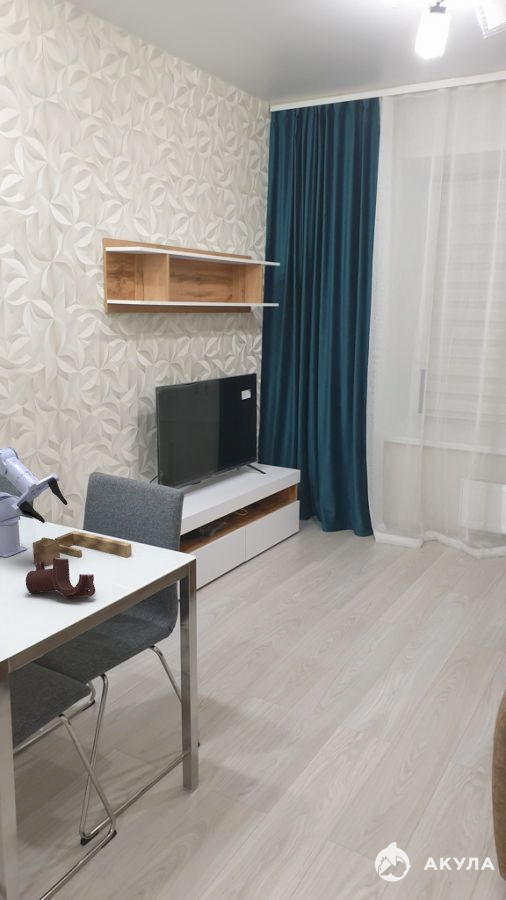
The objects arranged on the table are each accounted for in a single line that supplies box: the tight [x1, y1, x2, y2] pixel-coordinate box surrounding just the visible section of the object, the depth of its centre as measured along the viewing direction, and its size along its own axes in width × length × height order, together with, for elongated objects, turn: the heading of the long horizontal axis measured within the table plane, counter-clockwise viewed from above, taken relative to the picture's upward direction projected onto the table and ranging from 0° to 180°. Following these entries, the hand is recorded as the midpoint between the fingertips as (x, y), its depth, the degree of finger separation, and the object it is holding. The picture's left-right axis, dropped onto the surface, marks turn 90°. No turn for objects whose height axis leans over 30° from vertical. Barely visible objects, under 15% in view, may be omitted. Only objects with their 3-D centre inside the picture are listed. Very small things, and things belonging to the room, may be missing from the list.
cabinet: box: [32, 537, 61, 568], centre depth 200 cm, size 5×5×7 cm
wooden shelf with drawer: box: [54, 530, 133, 559], centre depth 207 cm, size 22×9×4 cm, turn 60°
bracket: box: [25, 557, 96, 599], centre depth 179 cm, size 6×17×10 cm, turn 78°
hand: (54, 512), depth 195 cm, fingers open, 7 cm apart
